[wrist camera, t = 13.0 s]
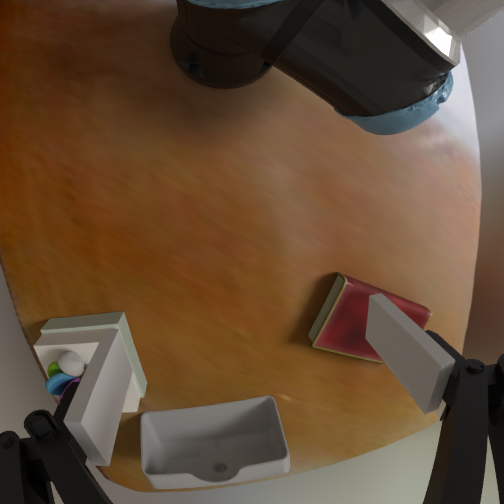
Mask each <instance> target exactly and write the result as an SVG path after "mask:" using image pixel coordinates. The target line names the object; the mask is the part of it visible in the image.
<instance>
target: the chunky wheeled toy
mask: <svg viewBox="0 0 504 504" xmlns="http://www.w3.org/2000/svg"><path fill="white" fill-rule="evenodd" d="M83 371H84V363H83V360H82V359H81V357H80V356H79V355H78V354H77V353H75V352H73V351H64V352H62V353H61V354H60V355H59V356H58V358H57V361H55V362H52V363H51V364H50V365H49V366H48V369H47V374H48V377H49V379H48V380H47V382H46V389H47V391H48V392H49V393H50V394H52V395H54V396H55V397H56V398H58V399H59V400H58V404H60V403H59V402H60V400H61V398H63V397H62V396H63V394H64V392H65V390H66V388H67V387H68V386H69V385H70V384H71V383H72V382H81V379H80V378H79V377H78V376H80V375H81V374H82V373H83Z"/></svg>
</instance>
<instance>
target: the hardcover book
mask: <svg viewBox="0 0 504 504" xmlns="http://www.w3.org/2000/svg"><path fill="white" fill-rule="evenodd" d="M336 275H338V276H337V278H336V280H335V282H334V285H333V287H332V289H331V291H330V293H329V295H328V297H327V299H326V301H325V303H324V305H323V307H322V309H321V311H320V312H319V314H318V316H317V318H316V320H315V322H314V324H313V326H312V328H311V330H310V332H309V334H308V336H309V337H310V339H311V341H312V344H311V347H313V348H317V349H321V350H325V351H329V352H333V353H338V354H342V355H346V356H350V357H355V358H359V359H364V360H368V361H373V362H378V363H383V364H386V363H385V362H384V361H383V360H382V358H381V357H380V356H379V355H378V353H377V352H376V351H375V350H374V348H373V347H372V346H371V345H370V343H369V342H368V341H367V340H366V338H365V337H366V328H367V317H368V306H369V295H374V294H379V293H382V294H383V295H384V296H385V297H387V298H388V299H389V300H390V301H391V302H392V303H393V304H395V305H396V306H397V307H398V308H399V309H400V310H401V311H402V312H404V313H405V314H406V315H407V316H408V317H409V318H410V319H411V320H412V321H414V322H415V323H416V324H417V325H418V326H419V327H420V328H421V329H422V330H423V331H424V330H425V328H426V326H427V324H428V322H429V321H430V319H431V317H432V315H433V314H432V312H431V311H430V310H429V309H428V308H427V307H425V306H422V305H420V304H417V303H415V302H412V301H410V300H407V299H404V298H402V297H399V296H397V295H394V294H392V293H389V292H387V291H384V290H382V289H379V288H377V287H374V286H372V285H369V284H366V283H364V282H361V281H359V280H356V279H354V278H351V277H349V276H346V275H343V274H341V273H338V272H337V273H336Z"/></svg>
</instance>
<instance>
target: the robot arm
mask: <svg viewBox="0 0 504 504" xmlns="http://www.w3.org/2000/svg"><path fill="white" fill-rule="evenodd" d="M176 1H177V6H178V11H179V14H178V16H177V17H176V19H175V21H174V23H173V26H172V29H171V34H170V46H171V50H172V54H173V57H174V59H175V61H176V63H177V65H178V66H179V68H180V69H181V70H182V71H183V72H184V73H185V74H186V75H187V76H188V77H190V78H191V79H193V80H194V81H196V82H198V83H200V84H203V85H206V86H209V87H214V88H237V87H241V86H245V85H248V84H250V83H253V82H255V81H256V80H258V79H260V78H261V77H262V76H264V75H265V74H266V73H267V72H268V71H269V70H270V69H271V67H272V66H274V67H276V68H277V69H279V70H280V71H282V72H284V73H285V74H287V75H288V76H290V77H291V78H293V79H294V80H296V81H297V82H299V83H300V84H302V85H303V86H305V87H306V88H308V89H309V90H311V91H312V92H313V93H315V94H316V95H318V96H319V97H320V98H322V99H323V100H325V101H326V102H327V103H329V104H330V105H331V106H333V107H334V110H335V111H336V112H337V113H338V114H340V115H341V116H343V117H346V118H348V119H350V120H351V121H353V122H354V123H356V124H357V125H358V126H360V127H361V128H362V129H364V130H365V131H367V132H371V133H373V134H377V135H393V134H397V133H401V132H404V131H407V130H409V129H411V128H414V127H415V126H417V125H419V124H421V123H422V122H424V121H425V120H427V119H428V118H430V117H431V116H432V115H433V114H434V113H435V112H436V111H437V110H438V109H439V106H438V104H440V103H443V102H445V101H446V100H447V98H448V97H449V95H450V93H451V90H452V86H453V76H452V74H451V69H453V68H454V67H455V66H457V65H458V64H459V63H460V44H461V41H462V39H463V38H464V37H466V36H467V35H468V34H470V33H471V32H472V31H474V30H475V29H476V28H478V27H479V26H481V25H482V24H483V23H485V22H486V21H487V20H489V19H490V18H492V17H493V16H494V15H496V14H497V13H498V12H500V11H501V10H503V9H504V0H176ZM292 38H293V39H292ZM285 47H286V48H285ZM282 51H283V52H282ZM279 55H280V56H279ZM365 338H366V340H367V341H368V342H369V343H370V345H371V346H372V347H373V348H374V350H375V351H376V352H377V353H378V355H379V356H380V357H381V358H382V360H383V361H384V362H385V363H386V365H387V366H388V367H389V369H390V370H391V371H392V372H393V374H394V375H395V376H396V377H397V379H398V380H399V381H400V383H401V384H402V385H403V386H404V388H405V389H406V390H407V392H408V393H409V394H410V395H411V397H412V398H413V399H414V401H415V402H416V403H417V405H418V406H419V407H420V409H421V410H422V411H423V412H424V414H427V413H429V412H431V411H434V410H436V409H438V408H439V405H440V403H441V400H442V399H443V400H444V401H445V402H446V407H445V409H444V411H443V414H442V416H441V418H440V421H442V419H443V421H442V427H441V432H440V437H439V443H438V447H437V452H436V457H435V461H434V465H433V469H432V473H431V477H430V481H429V485H428V488H427V491H426V495H425V498H424V501H423V504H480V501H481V494H482V488H483V481H484V473H485V464H486V453H487V438H488V436H489V440H490V444H491V450H492V454H493V460H494V465H495V472H496V478H497V485H498V491H499V501H500V504H504V354H502V355H501V356H500V357H499V359H498V362H497V364H493V365H487V366H485V365H484V363H483V362H481V361H479V360H475V359H467V360H466V359H465V358H464V357H463V356H461V355H460V354H459V353H458V352H457V351H456V350H455V349H454V348H453V347H452V346H450V345H449V344H448V343H447V342H446V341H444V339H443V338H442V337H440V336H439V335H438V334H437V333H434V332H432V331H430V330H427V331H423V330H422V329H421V328H420V327H419V326H418V325H417V324H416V323H415V322H414V321H412V320H411V319H410V318H409V317H408V316H407V315H406V314H405V313H404V312H402V311H401V310H400V309H399V308H398V307H397V306H396V305H395V304H393V303H392V302H391V301H390V300H389V299H388V298H387V297H385V296H384V295H383V294H382V293H379V294H374V295H369V306H368V317H367V328H366V337H365ZM132 373H133V369H132V366H131V363H130V361H129V358H128V355H127V352H126V349H125V346H124V343H123V339H122V336H121V333H120V330H119V329H106V330H105V332H104V334H103V336H102V338H101V340H100V342H99V344H98V346H97V348H96V350H95V352H94V354H93V356H92V358H91V360H90V362H89V365H88V367H87V369H86V371H85V373H84V375H83V377H82V380H81V382H72V383H71V384H70V385H69V386H68V387H67V388H66V390H65V392H64V394H63V396H62V397H63V398H61V400H60V402H59V403H60V404H58V406H57V409H56V411H55V413H54V415H53V416H52V415H51V414H50V413H49V411H46V410H36V411H33V412H32V413H30V414H29V415H28V416H27V417H26V418H25V421H24V428H25V429H26V430H27V432H28V434H29V435H30V436H31V437H30V438H22V439H20V438H19V436H18V435H17V434H16V433H15V432H13V431H5V432H3V433H1V434H0V504H55V502H54V498H53V493H52V488H51V483H50V482H51V481H52V482H53V484H54V486H55V488H56V490H57V492H58V494H59V495H60V497H61V499H62V501H63V503H64V504H113V503H112V502H111V500H110V499H109V498H108V496H107V495H106V494H105V492H104V491H103V489H102V488H101V487H100V485H99V484H98V482H97V481H96V479H95V478H94V476H93V475H92V473H91V472H90V470H89V469H88V467H87V466H86V465H85V462H86V459H87V458H88V459H89V460H90V462H91V463H92V464H93V465H99V466H109V465H110V461H111V456H112V452H113V447H114V443H115V438H116V434H117V430H118V426H119V422H120V418H121V414H122V410H123V406H124V402H125V398H126V395H127V391H128V387H129V384H130V380H131V377H132Z"/></svg>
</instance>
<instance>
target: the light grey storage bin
mask: <svg viewBox="0 0 504 504" xmlns="http://www.w3.org/2000/svg"><path fill="white" fill-rule="evenodd" d="M141 463H142V471H143V473H144V474H145V476H146V477H147V479H148V480H149V482H150V483H151V484H152V486H153V487H154V488H156V489H176V488H192V487H204V486H214V485H223V484H231V483H238V482H244V481H250V480H256V479H262V478H267V477H272V476H277V475H282V474H285V473H287V472H288V471H289V470H290V457H289V449H288V445H287V442H286V438H285V434H284V431H283V427H282V423H281V420H280V416H279V412H278V408H277V405H276V401H275V399H274V398H273V397H272V396H270V395H268V396H263V397H258V398H252V399H247V400H241V401H235V402H229V403H223V404H216V405H209V406H201V407H193V408H185V409H175V410H165V411H153V412H144V413H143V414H142V416H141Z"/></svg>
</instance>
